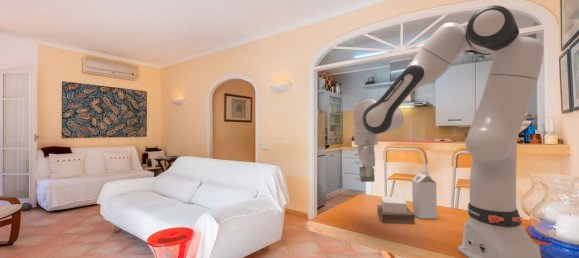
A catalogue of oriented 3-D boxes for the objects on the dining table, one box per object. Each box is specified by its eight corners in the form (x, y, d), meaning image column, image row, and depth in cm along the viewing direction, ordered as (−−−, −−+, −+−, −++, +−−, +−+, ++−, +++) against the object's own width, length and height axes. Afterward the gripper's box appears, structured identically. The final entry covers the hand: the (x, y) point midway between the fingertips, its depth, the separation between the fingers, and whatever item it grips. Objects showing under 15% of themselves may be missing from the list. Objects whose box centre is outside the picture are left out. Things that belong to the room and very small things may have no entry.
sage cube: (374, 181, 101) (374, 168, 101) (361, 181, 101) (360, 168, 101) (372, 179, 106) (372, 166, 106) (359, 179, 106) (359, 166, 106)
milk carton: (429, 213, 114) (428, 170, 114) (437, 219, 107) (436, 173, 107) (412, 213, 115) (411, 170, 115) (418, 218, 108) (418, 173, 107)
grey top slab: (407, 213, 104) (406, 203, 104) (383, 212, 107) (383, 202, 107) (403, 206, 113) (403, 197, 113) (381, 205, 115) (381, 196, 115)
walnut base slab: (414, 225, 103) (414, 215, 102) (382, 224, 104) (382, 214, 104) (406, 214, 114) (405, 205, 114) (377, 214, 116) (377, 205, 116)
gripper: (378, 141, 93) (380, 180, 93) (370, 138, 113) (371, 170, 113) (360, 142, 94) (361, 180, 94) (355, 139, 114) (356, 170, 114)
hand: (366, 174), depth 104 cm, fingers closed on sage cube, 5 cm apart
